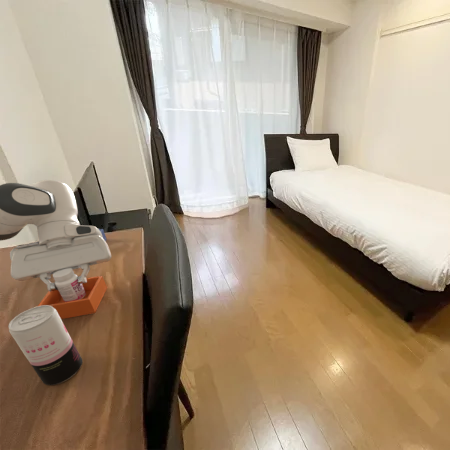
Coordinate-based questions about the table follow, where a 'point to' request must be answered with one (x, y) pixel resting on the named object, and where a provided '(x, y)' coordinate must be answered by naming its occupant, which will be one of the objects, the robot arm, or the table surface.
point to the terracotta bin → (86, 305)
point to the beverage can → (46, 344)
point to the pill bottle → (68, 285)
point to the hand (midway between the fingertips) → (68, 286)
